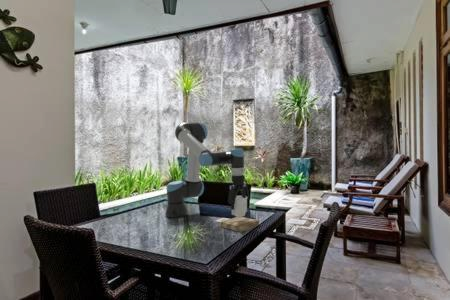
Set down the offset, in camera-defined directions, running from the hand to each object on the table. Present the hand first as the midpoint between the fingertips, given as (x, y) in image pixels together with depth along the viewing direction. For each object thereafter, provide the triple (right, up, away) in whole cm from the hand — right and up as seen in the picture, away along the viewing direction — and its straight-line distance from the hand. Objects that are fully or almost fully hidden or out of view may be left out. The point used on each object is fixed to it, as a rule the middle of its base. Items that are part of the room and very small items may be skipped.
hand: (239, 213), depth 176 cm
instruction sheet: (-8, -8, +14) cm, 17 cm away
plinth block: (0, -8, 0) cm, 8 cm away
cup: (0, -2, 0) cm, 2 cm away
